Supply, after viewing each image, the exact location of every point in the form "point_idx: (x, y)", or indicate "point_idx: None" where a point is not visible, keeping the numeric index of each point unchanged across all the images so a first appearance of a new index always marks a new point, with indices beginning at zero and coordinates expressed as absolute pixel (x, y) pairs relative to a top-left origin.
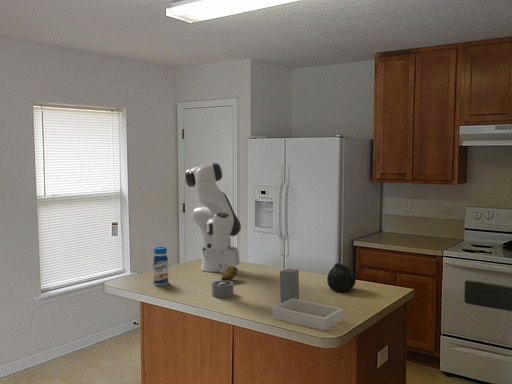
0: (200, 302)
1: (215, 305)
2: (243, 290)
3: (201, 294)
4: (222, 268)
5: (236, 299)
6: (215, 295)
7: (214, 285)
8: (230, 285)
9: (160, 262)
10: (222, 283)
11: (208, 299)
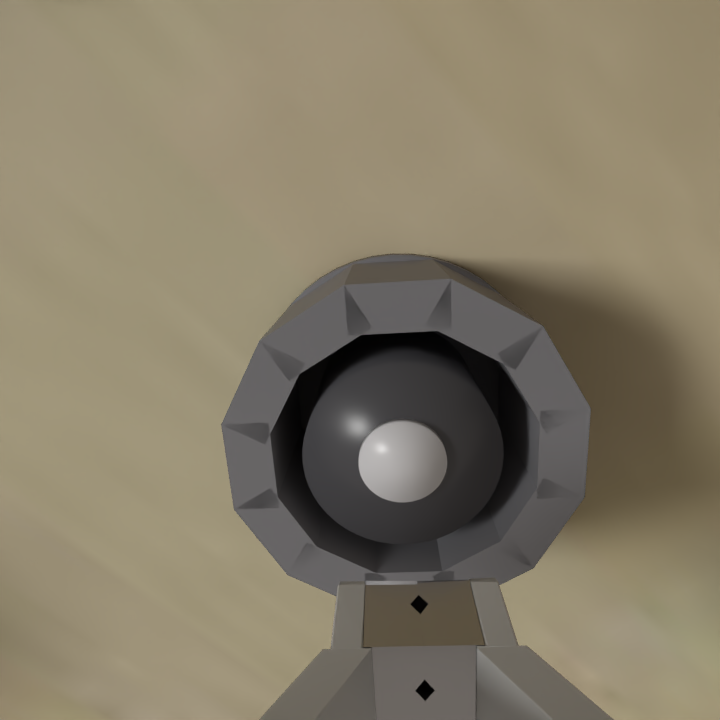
0: None
1: (596, 682)
2: (480, 30)
3: (199, 526)
4: (396, 662)
5: (662, 424)
6: None
7: None
8: (583, 454)
9: None
10: (425, 487)
11: None
